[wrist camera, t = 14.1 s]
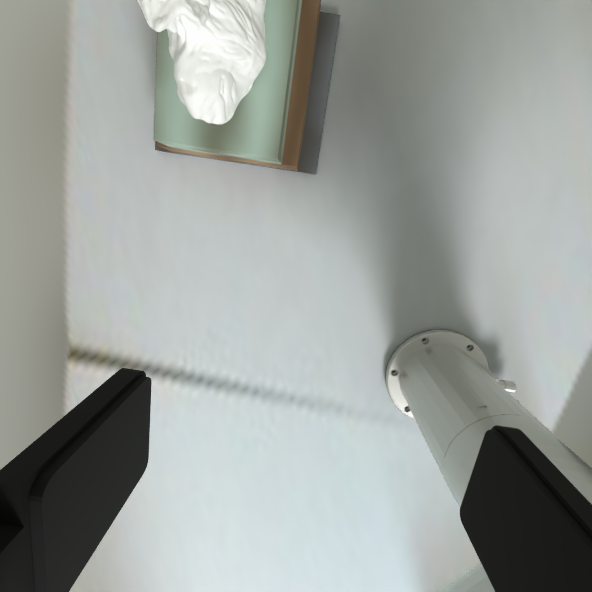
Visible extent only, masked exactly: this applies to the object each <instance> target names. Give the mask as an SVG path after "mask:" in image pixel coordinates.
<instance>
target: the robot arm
mask: <svg viewBox="0 0 592 592" xmlns="http://www.w3.org/2000/svg"><path fill="white" fill-rule="evenodd" d="M423 338H425V339H424V340H422V339H423ZM392 370H394V371H392ZM386 386H387V389H388V392H389V395H390V397H391V399H392V401H393V403H394V404H395V405H396V406H397V408H398V409H399V410H400V411H401V412H403V413H404V414H405V415H407V416H409V417H411V418H413V419H415V420H416V422H417V424H418V427H419V429H420V431H421V433H422V435H423V437H424V439H425V441H426V443H427V445H428V447H429V449H430V451H431V453H432V455H433V457H434V459H435V461H436V463H437V465H438V467H439V469H440V471H441V473H442V475H443V477H444V479H445V481H446V483H447V485H448V487H449V489H450V491H451V493H452V495H453V497H454V498H455V500H456V502H457V503H458V505H459V506H460V518H461V521H462V524H463V526H464V528H465V530H466V532H467V534H468V536H469V539H470V541H471V543H472V545H473V547H474V549H475V551H476V553H477V555H478V557H479V559H480V561H481V563H480V564H479V565H478V566H476V567H475V568H473V569H472V570H470V571H469V572H467V573H466V574H464V575H463V576H462V577H460V578H459V579H457V580H456V581H454V582H453V583H451V584H450V585H449V586H447V587H446V588H444V589H443V590H441V591H440V592H592V468H591V467H590V466H589V465H588V464H587V463H586V462H584V461H583V460H582V459H581V458H580V457H579V456H578V455H576V454H575V453H574V452H573V451H572V450H571V449H570V448H568V447H567V446H566V445H565V444H564V443H563V442H562V441H561V440H560V439H558V438H557V437H556V436H555V435H554V434H553V433H552V432H551V431H550V430H549V429H548V428H546V427H545V426H544V425H543V424H542V423H541V422H540V421H539V420H538V419H537V418H536V417H534V416H533V415H532V414H531V413H530V412H529V411H528V410H527V409H526V408H525V407H524V406H523V405H522V404H520V402H519V400H517V399H515V398H514V397H513V396H512V395H511V394H510V393H514V392H515V391H516V384H515V383H514V382H512V381H506V380H498V379H497V378H496V377H495V376H494V375H493V374H492V373H491V372H490V371H489V366H488V363H487V359H486V357H485V355H484V354H483V352H482V350H481V349H480V348H479V347H478V346H477V345H476V344H475V343H474V342H473V341H471V340H470V339H469V338H467V337H465V336H464V335H462V334H459V333H456V332H454V331H448V330H431V331H426V332H422V333H420V334H417V335H415V336H413V337H411V338H410V339H408V340H406V341H405V342H404V343H403V344H402V345H400V346H399V347H398V348H397V350H396V351H395V352H394V354H393V355H392V357H391V359H390V361H389V363H388V366H387V370H386ZM150 404H151V378H149V377H146V374H145V372H144V371H140V370H133V369H126V368H122V369H120V370H119V371H118V372H116V373H115V374H114V375H113V376H112V377H110V378H109V379H108V380H107V381H106V382H104V383H103V384H102V385H101V386H100V387H99V388H97V389H96V390H95V391H94V392H93V393H91V394H90V395H89V396H88V397H87V398H85V399H84V400H83V401H82V402H81V403H80V404H78V405H77V406H76V407H75V408H74V409H72V410H71V411H70V412H69V413H68V414H66V415H65V416H64V417H63V418H62V419H60V421H58V422H57V423H56V424H55V425H53V426H52V427H51V428H50V429H49V430H47V431H46V432H45V433H44V434H43V435H41V436H40V437H39V438H38V439H37V440H36V441H34V442H33V443H32V444H31V445H30V446H28V447H27V448H26V449H25V450H24V451H22V452H21V453H20V454H19V455H18V456H16V457H15V458H14V459H13V460H12V461H11V462H9V463H8V464H7V465H6V466H5V467H3V468H2V469H1V470H0V592H69V591H70V589H71V587H72V586H73V584H74V583H75V581H76V579H77V578H78V576H79V575H80V573H81V572H82V570H83V568H84V567H85V565H86V564H87V562H88V560H89V559H90V557H91V556H92V554H93V553H94V551H95V549H96V548H97V546H98V545H99V543H100V542H101V540H102V538H103V537H104V535H105V534H106V532H107V530H108V529H109V527H110V526H111V524H112V523H113V521H114V519H115V518H116V516H117V515H118V513H119V511H120V510H121V508H122V507H123V505H124V504H125V502H126V500H127V499H128V497H129V496H130V494H131V493H132V491H133V489H134V488H135V486H136V485H137V483H138V481H139V480H140V478H141V477H142V475H143V473H144V472H145V469H146V467H147V463H148V455H149V429H150Z"/></svg>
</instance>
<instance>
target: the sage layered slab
mask: <svg viewBox="0 0 592 592" xmlns="http://www.w3.org/2000/svg"><path fill="white" fill-rule="evenodd" d="M320 2H321V0H266V5H265V11H264V23H265V53H266V61H265V64H264V67H263V68H262V70H261V71H260V73H259V75H258V76H257V78H256V79H255V80H254V83H253V85H252V88H251V90H250V91H249V93H248V94H247V95H246V96H245V97H243V98H242V99H241V101H240V102H239V104H238V106H237V108H236V110H235V112H234V115H233V116H232V118H231V119H230V120H229V121H228V122H226V123H224V124H213V123H207V122H205V121H204V120H201V119H195V118H193V117H192V116H191V114H190V113H189V111H188V109H187V107H186V106H185V105H184V104H183V103H182V102H181V100H180V98H179V96H178V93H177V88H178V87H177V83H176V80H175V78H174V60H173V58H172V57H171V55H170V52H169V37H168V31H167V29H165V30H163V31H161V32H157V60H156V89H155V119H154V140H155V150H158V151H163V152H170V153H177V154H183V155H190V156H197V157H203V158H210V159H217V160H223V161H230V162H237V163H243V164H250V165H257V166H263V167H270V168H277V169H283V170H290V171H297V172H304V173H310V174H316V170H317V164H318V157H319V150H320V144H321V137H322V131H323V124H324V117H325V111H326V104H327V98H328V91H329V84H330V78H331V71H332V65H333V58H334V51H335V45H336V38H337V31H338V25H339V18H340V15H337V14H330V13H323V12H320Z"/></svg>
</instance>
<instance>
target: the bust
mask: <svg viewBox="0 0 592 592" xmlns="http://www.w3.org/2000/svg"><path fill="white" fill-rule="evenodd" d="M137 1H138V3H139V5H140V7H141V9H142V12H143V14H144V16H145V19H146V21H147V23H148V25H149V26H150V27H151V28H152V29H154V30H155V31H156V32H161V31H163V30H165V29H167V31H168V37H169V52H170V55H171V57H172V58H173V60H174V78H175V80H176V83H177V87H178V88H177V93H178V96H179V98H180V100H181V102H182V103H183V104H184V105H185V106H186V107H187V109H188V111H189V113H190V114H191V116H192V117H193V118H195V119H201V120H204V121H205V122H207V123H213V124H224V123H226V122H228V121H229V120H230V119H231V118H232V116H233V115H234V112H235V110H236V108H237V106H238V104H239V102H240V101H241V99H242V98H243V97H245V96H246V95H247V94H248V93H249V91H250V90H251V88H252V85H253V83H254V80H255V79H256V78H257V76H258V75H259V73H260V71H261V70H262V68H263V67H264V64H265V61H266V53H265V23H264V11H265V5H266V0H137Z"/></svg>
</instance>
